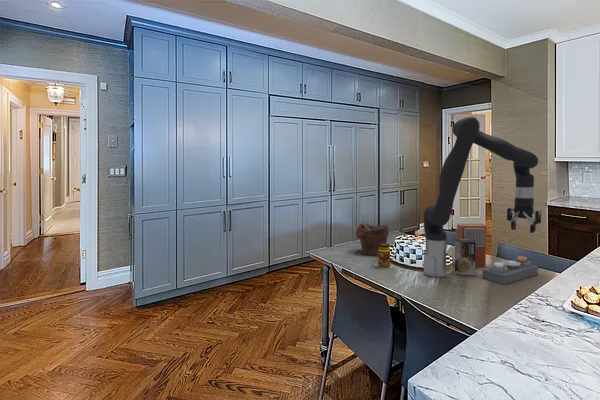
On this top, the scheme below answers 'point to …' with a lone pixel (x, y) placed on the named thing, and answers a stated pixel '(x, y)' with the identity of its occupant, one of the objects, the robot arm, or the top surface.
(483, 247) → the red upright rectangular box
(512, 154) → the robot arm
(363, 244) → the brown plant pot
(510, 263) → the rocker switch
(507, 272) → the switch console
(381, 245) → the condiment
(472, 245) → the cookie box
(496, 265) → the grey button
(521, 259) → the terracotta button
